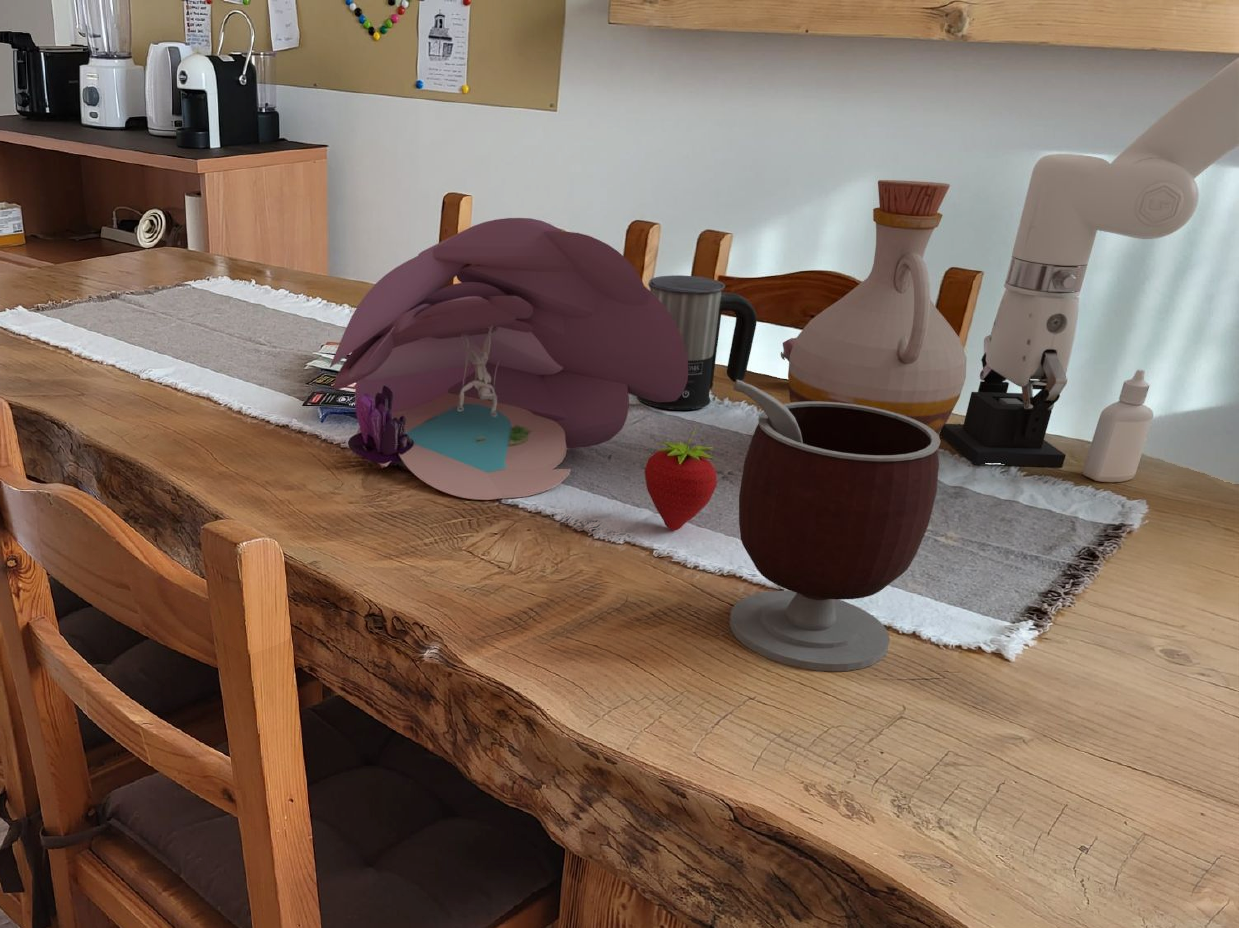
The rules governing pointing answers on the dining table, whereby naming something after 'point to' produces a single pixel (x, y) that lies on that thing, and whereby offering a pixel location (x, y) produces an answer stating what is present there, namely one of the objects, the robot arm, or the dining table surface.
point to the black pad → (995, 420)
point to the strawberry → (680, 482)
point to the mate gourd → (829, 525)
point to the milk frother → (704, 332)
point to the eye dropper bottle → (1120, 434)
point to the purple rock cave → (504, 357)
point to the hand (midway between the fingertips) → (1005, 428)
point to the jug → (887, 324)
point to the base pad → (1001, 448)
